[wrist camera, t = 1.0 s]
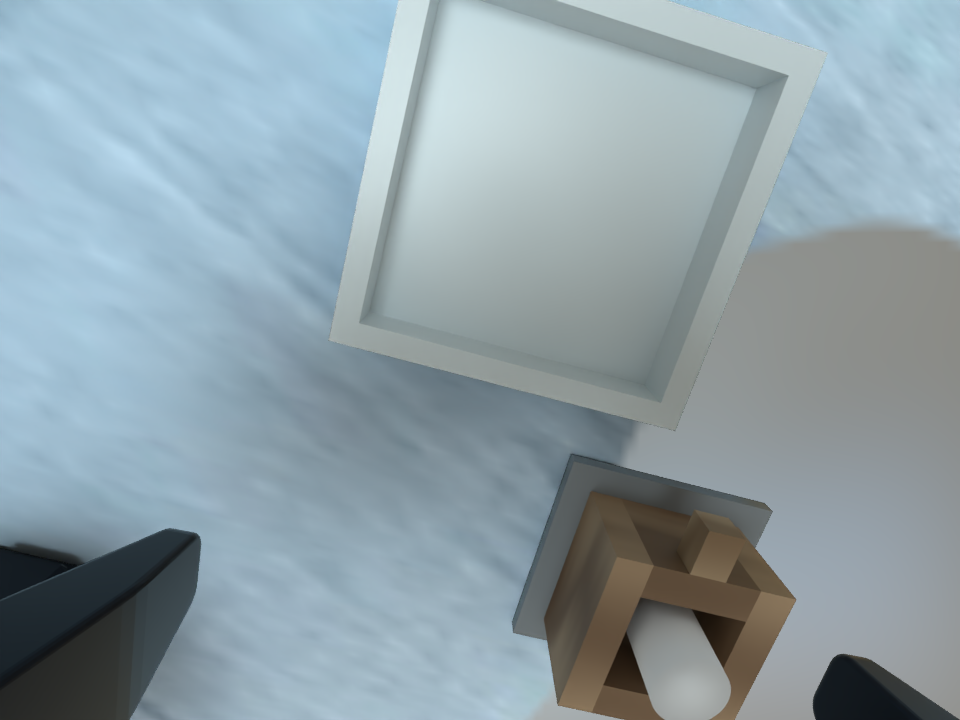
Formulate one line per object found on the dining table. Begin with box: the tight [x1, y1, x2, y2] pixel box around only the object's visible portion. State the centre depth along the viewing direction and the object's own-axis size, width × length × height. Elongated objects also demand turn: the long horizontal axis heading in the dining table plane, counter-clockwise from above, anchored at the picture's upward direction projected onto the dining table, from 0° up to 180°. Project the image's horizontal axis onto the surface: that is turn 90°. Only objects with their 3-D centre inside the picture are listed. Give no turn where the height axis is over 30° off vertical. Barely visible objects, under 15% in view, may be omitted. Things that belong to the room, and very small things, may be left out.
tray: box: [328, 0, 828, 431], centre depth 17 cm, size 12×12×2 cm
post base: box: [512, 454, 772, 720], centre depth 19 cm, size 8×8×6 cm
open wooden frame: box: [544, 491, 796, 720], centre depth 20 cm, size 8×6×4 cm
